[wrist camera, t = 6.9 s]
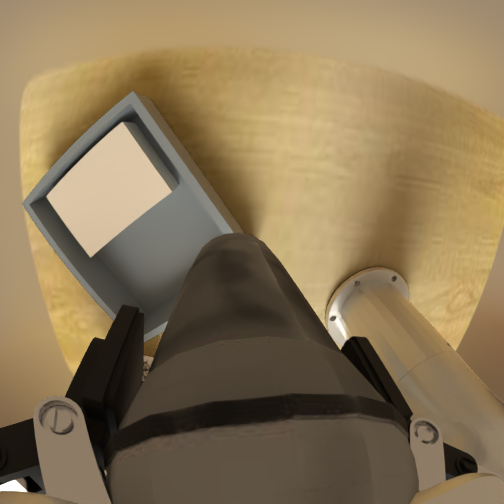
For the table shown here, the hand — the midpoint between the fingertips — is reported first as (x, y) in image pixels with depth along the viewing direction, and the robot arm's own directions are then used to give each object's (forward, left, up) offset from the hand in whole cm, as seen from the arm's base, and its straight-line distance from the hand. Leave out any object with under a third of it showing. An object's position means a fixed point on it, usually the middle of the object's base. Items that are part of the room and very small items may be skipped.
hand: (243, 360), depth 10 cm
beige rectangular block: (+9, +8, -22) cm, 25 cm away
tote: (+4, +8, -23) cm, 25 cm away
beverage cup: (0, 0, -7) cm, 7 cm away
